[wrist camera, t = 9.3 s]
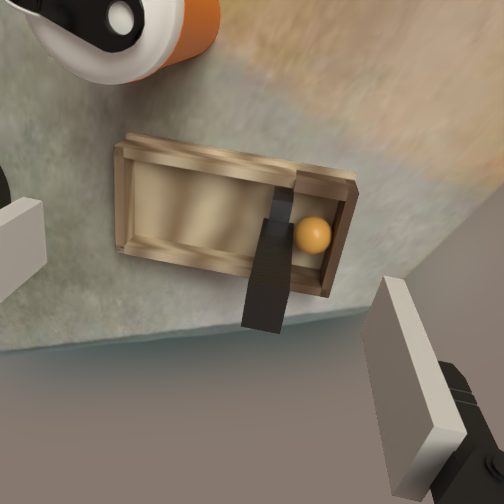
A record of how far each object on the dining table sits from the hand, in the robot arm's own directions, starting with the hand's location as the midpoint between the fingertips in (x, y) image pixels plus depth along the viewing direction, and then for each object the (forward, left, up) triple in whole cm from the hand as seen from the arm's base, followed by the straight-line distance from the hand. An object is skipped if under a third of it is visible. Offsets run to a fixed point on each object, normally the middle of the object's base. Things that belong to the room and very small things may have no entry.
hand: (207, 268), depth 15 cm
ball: (+7, -9, -25) cm, 28 cm away
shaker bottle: (-9, +9, -29) cm, 31 cm away
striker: (+3, -9, -27) cm, 29 cm away
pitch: (-2, -9, -28) cm, 30 cm away
